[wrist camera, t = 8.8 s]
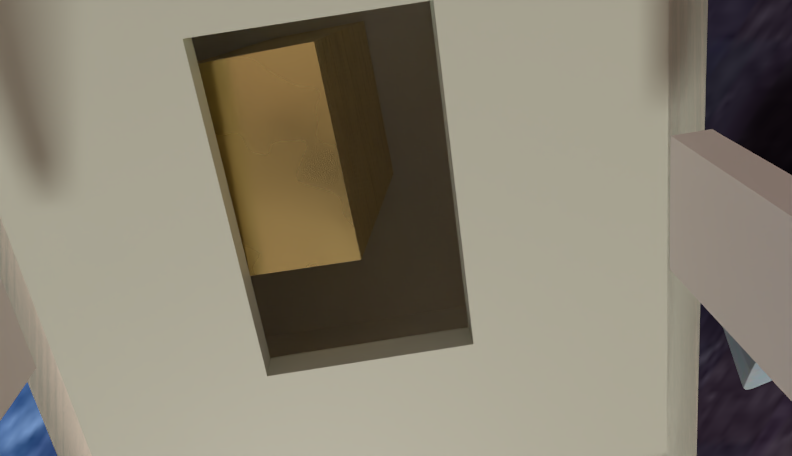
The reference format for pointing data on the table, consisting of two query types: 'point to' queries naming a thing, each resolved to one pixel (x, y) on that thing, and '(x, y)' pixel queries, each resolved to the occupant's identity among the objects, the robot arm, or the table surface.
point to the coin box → (387, 246)
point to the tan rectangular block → (301, 146)
